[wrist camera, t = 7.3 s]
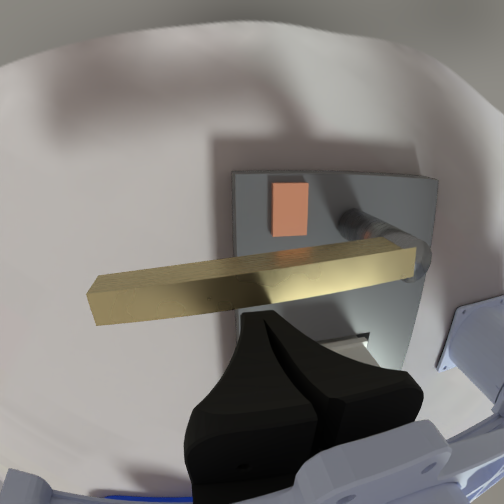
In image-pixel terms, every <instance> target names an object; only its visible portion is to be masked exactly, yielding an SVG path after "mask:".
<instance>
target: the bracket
mask: <svg viewBox="0 0 504 504" xmlns="http://www.w3.org/2000/svg"><path fill="white" fill-rule="evenodd" d="M105 498H106V499H115V500H125V501H139V502H166V503H184V502H193V497H133V496H107V497H105Z"/></svg>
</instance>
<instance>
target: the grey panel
mask: <svg viewBox="0 0 504 504" xmlns="http://www.w3.org/2000/svg"><path fill="white" fill-rule="evenodd" d="M437 192H438V180H437V179H433V178H429V177H424V176H417V175H404V174H389V173H371V172H347V171H303V170H272V171H232V215H233V255H234V257H239V256H247V255H254V254H261V253H269V252H276V251H283V250H291V249H298V248H305V247H312V246H320V245H327V244H334V243H341V242H348V241H347V240H346V239H344V238H343V237H342V236H341V235H340V233H339V229H338V223H339V220H340V217H341V216H342V214H343V213H344V212H346V211H347V210H349V209H353V208H356V209H359V210H362V211H364V212H366V213H368V214H370V215H372V216H374V217H376V218H378V219H381V220H383V221H385V222H387V223H389V224H391V225H393V226H395V227H397V228H399V229H401V230H403V231H405V232H407V233H409V234H411V235H413V236H415V237H417V238H419V239H421V240H423V241H424V242H426V243H427V244H428V245H429V247H430V248H431V241H432V235H433V228H434V220H435V212H436V203H437ZM425 276H426V273H425V275H424V276H423V277H422V278H421V279H419V280H418V281H416V282H413V283H406V282H404V281H402V280H401V279H400V280H396V281H391V282H386V283H381V284H377V285H372V286H367V287H362V288H357V289H352V290H346V291H341V292H336V293H331V294H325V295H320V296H314V297H309V298H303V299H297V300H291V301H285V302H279V303H273V304H267V305H261V306H254V307H248V308H241V309H235V317H236V343H238V340H239V335H240V315H241V314H242V313H243V312H254V311H265V310H274V311H275V312H277V313H278V314H279V315H280V316H282V317H283V318H284V319H285V320H286V321H288V322H289V323H290V324H291V325H293V326H294V327H295V328H297V329H298V330H299V331H301V332H302V333H303V334H305V335H306V336H308V337H309V338H311V339H313V340H314V341H319V340H326V339H332V338H338V337H345V336H350V335H356V336H357V337H358V338H361V337H365V338H366V339H367V341H368V343H367V348H366V349H367V350H368V351H369V353H370V354H371V355H372V356H373V358H374V359H375V360H376V362H377V363H378V364H379V366H380V367H382V368H387V369H393V370H400V371H401V369H402V366H403V363H404V359H405V356H406V353H407V349H408V346H409V342H410V339H411V335H412V332H413V328H414V324H415V320H416V316H417V312H418V308H419V304H420V299H421V295H422V290H423V286H424V281H425Z"/></svg>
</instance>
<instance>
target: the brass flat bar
mask: <svg viewBox="0 0 504 504" xmlns="http://www.w3.org/2000/svg"><path fill="white" fill-rule="evenodd" d="M338 229H339V233H340V235H341V236H342V237H343V238H344V239H346V240H347V241H348V242H341V243H334V244H327V245H320V246H312V247H305V248H298V249H291V250H283V251H276V252H269V253H261V254H254V255H247V256H239V257H232V258H225V259H217V260H210V261H203V262H195V263H188V264H181V265H173V266H166V267H158V268H151V269H144V270H136V271H129V272H121V273H114V274H106V275H99V276H98V277H97V279H96V280H95V282H94V283H93V285H92V286H91V288H90V289H89V291H88V292H87V294H86V295H87V299H88V302H89V305H90V308H91V311H92V314H93V317H94V320H95V323H96V326H100V325H111V324H121V323H131V322H140V321H149V320H158V319H167V318H175V317H183V316H191V315H199V314H206V313H213V312H221V311H228V310H234V309H241V308H248V307H254V306H261V305H267V304H273V303H279V302H285V301H291V300H297V299H303V298H309V297H314V296H320V295H325V294H331V293H336V292H341V291H346V290H352V289H357V288H362V287H367V286H372V285H377V284H381V283H386V282H391V281H396V280H400V279H401V280H402V281H404V282H406V283H413V282H416V281H418V280H419V279H421V278H422V277H423V276H424V275H425V273H426V272H427V270H428V268H429V266H430V263H431V257H432V254H431V249H430V247H429V245H428V244H427V243H426V242H424V241H423V240H421V239H419V238H417V237H415V236H413V235H411V234H409V233H407V232H405V231H403V230H401V229H399V228H397V227H395V226H393V225H391V224H389V223H387V222H385V221H383V220H381V219H378V218H376V217H374V216H372V215H370V214H368V213H366V212H364V211H362V210H359V209H356V208H353V209H349V210H347V211H346V212H344V213H343V214H342V216H341V217H340V220H339V223H338Z"/></svg>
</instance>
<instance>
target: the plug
mask: <svg viewBox="0 0 504 504" xmlns="http://www.w3.org/2000/svg"><path fill="white" fill-rule="evenodd" d="M316 342H317V343H319V344H321V345H322V346H324V347H326V348H328V349H330V350H332V351H334V352H336V353H338V354H341V355H343V356H346V357H348V358H351V359H354V360H356V361H359V362H363V363H366V364H369V365H373V366H377V367H380V366H379V364H378V363H377V362H376V360H375V359H374V358H373V356H372V355H371V354H370V353H369V351H368V350H367V349H366V348H367V343H368V341H367V339H366V338H365V337H361V338H358V337H357V336H356V335H350V336H345V337H338V338H332V339H326V340H319V341H316Z"/></svg>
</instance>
